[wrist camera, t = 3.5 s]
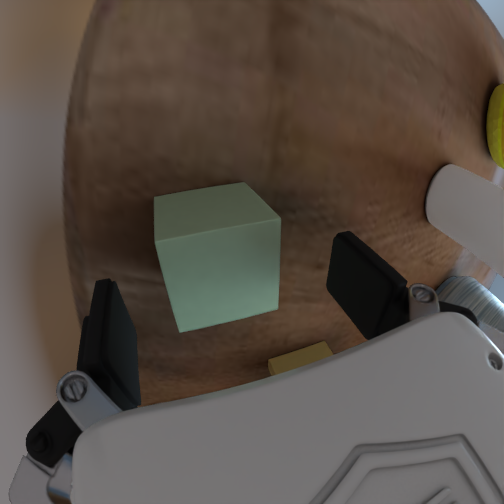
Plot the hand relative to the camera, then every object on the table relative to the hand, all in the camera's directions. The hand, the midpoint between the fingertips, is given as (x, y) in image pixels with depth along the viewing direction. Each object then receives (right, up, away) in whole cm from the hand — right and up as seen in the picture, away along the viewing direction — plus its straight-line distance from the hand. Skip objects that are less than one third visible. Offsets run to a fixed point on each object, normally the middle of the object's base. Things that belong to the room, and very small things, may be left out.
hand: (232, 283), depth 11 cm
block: (-2, +3, +5) cm, 6 cm away
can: (+19, +7, +10) cm, 23 cm away
